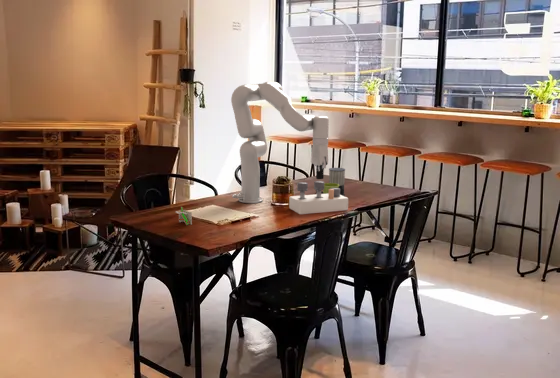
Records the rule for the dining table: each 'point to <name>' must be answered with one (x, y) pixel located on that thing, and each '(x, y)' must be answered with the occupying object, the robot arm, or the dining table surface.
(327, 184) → the plant pot
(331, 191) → the dial post
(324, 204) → the white rectangular block
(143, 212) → the dining table surface
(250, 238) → the dining table surface
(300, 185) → the knob near
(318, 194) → the knob mid
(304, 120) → the robot arm
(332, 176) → the milk frother
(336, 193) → the knob far
